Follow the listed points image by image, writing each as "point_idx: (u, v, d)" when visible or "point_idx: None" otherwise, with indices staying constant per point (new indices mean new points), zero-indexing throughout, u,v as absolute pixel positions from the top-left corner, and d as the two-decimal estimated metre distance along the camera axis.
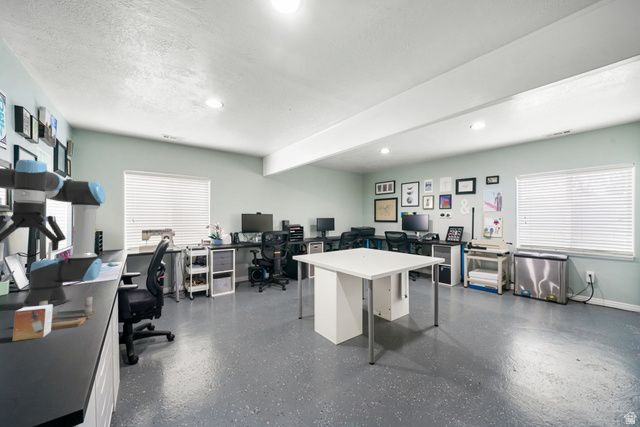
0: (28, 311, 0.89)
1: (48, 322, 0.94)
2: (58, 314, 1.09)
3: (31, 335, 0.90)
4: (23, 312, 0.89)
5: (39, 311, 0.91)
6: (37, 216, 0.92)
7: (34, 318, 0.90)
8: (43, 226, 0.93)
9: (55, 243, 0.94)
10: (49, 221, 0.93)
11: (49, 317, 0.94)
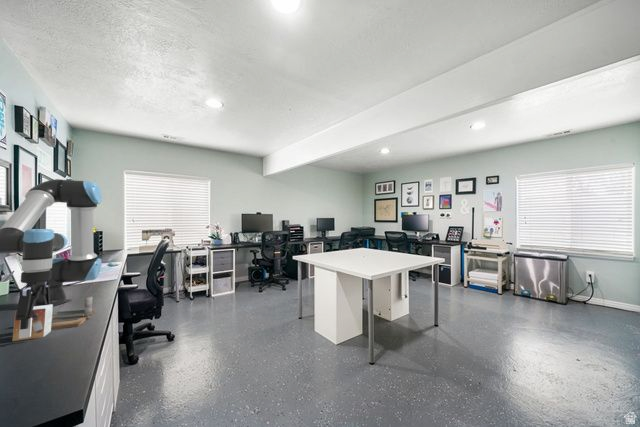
0: None
1: (48, 322, 0.94)
2: (58, 314, 1.09)
3: (31, 335, 0.90)
4: None
5: (39, 311, 0.91)
6: None
7: (34, 318, 0.90)
8: (31, 298, 0.89)
9: None
10: None
11: (49, 317, 0.94)
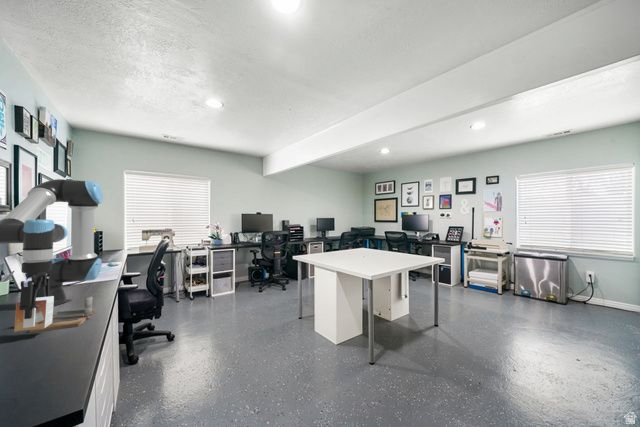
0: None
1: (49, 314, 0.94)
2: (58, 314, 1.09)
3: None
4: None
5: (40, 302, 0.91)
6: None
7: None
8: (33, 288, 0.90)
9: None
10: None
11: (51, 308, 0.95)
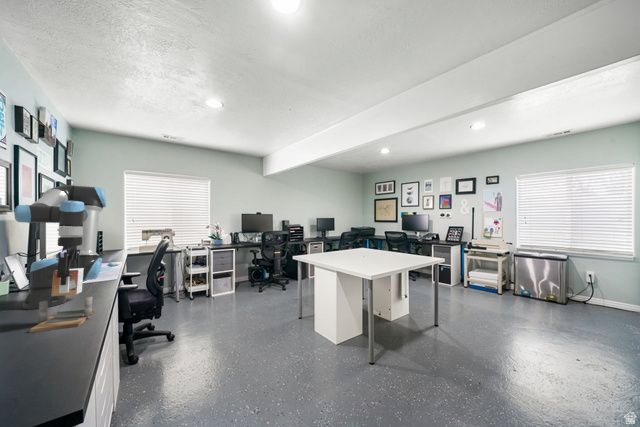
0: None
1: (80, 282, 1.08)
2: (58, 314, 1.09)
3: None
4: None
5: (73, 271, 1.05)
6: None
7: None
8: (67, 259, 1.05)
9: None
10: None
11: (81, 278, 1.09)
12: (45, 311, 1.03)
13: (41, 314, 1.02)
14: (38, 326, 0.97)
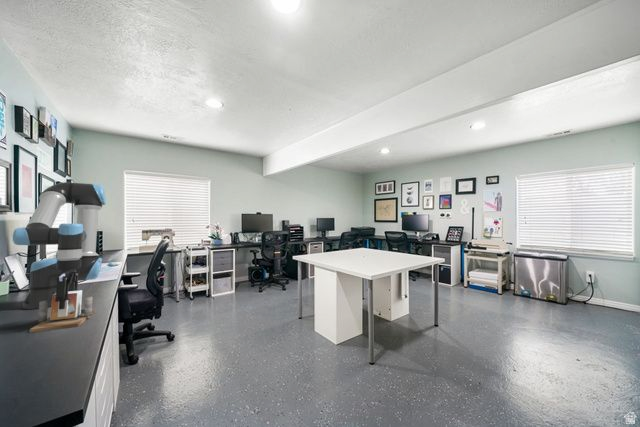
0: None
1: (79, 305, 1.08)
2: None
3: (65, 316, 1.04)
4: None
5: (71, 295, 1.05)
6: None
7: None
8: (66, 283, 1.04)
9: None
10: None
11: (80, 301, 1.09)
12: (45, 311, 1.03)
13: (41, 314, 1.02)
14: (38, 326, 0.97)
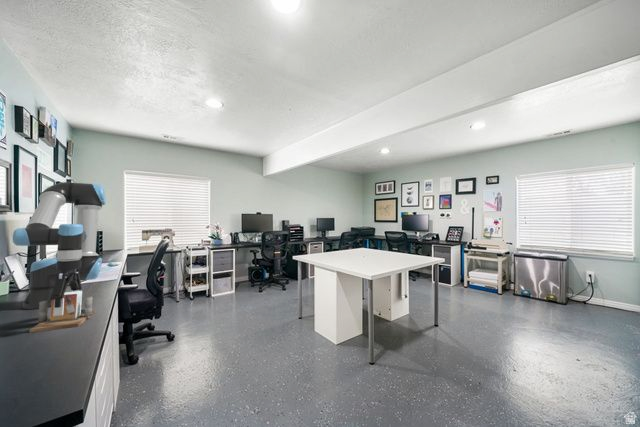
0: (63, 296, 1.04)
1: (79, 306, 1.08)
2: None
3: (65, 317, 1.04)
4: None
5: (71, 296, 1.05)
6: None
7: (67, 302, 1.04)
8: (65, 282, 1.03)
9: None
10: None
11: (80, 301, 1.09)
12: (45, 311, 1.03)
13: (41, 314, 1.02)
14: (38, 326, 0.97)
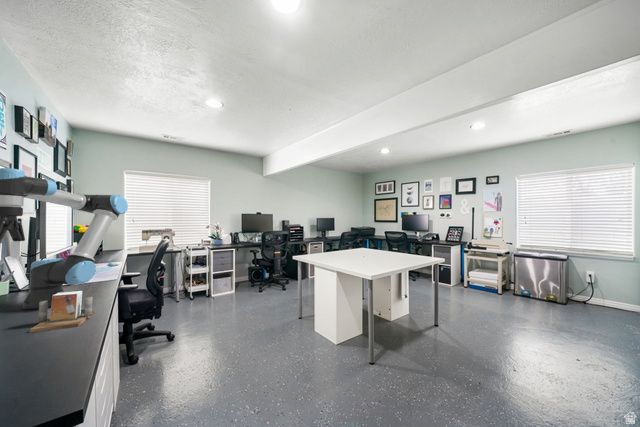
0: (63, 296, 1.04)
1: (79, 306, 1.08)
2: None
3: (65, 317, 1.04)
4: (59, 296, 1.03)
5: (71, 296, 1.05)
6: None
7: (67, 302, 1.04)
8: (3, 227, 0.98)
9: None
10: None
11: (80, 301, 1.09)
12: (45, 311, 1.03)
13: (41, 314, 1.02)
14: (38, 326, 0.97)
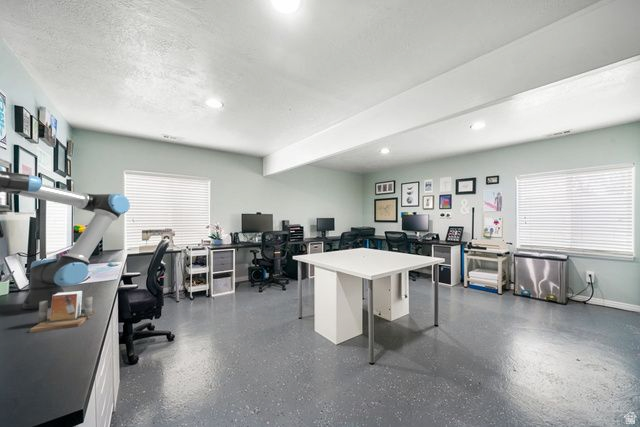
0: (63, 296, 1.04)
1: (79, 306, 1.08)
2: None
3: (65, 317, 1.04)
4: (59, 296, 1.03)
5: (71, 296, 1.05)
6: None
7: (67, 302, 1.04)
8: None
9: None
10: None
11: (80, 301, 1.09)
12: (45, 311, 1.03)
13: (41, 314, 1.02)
14: (38, 326, 0.97)
